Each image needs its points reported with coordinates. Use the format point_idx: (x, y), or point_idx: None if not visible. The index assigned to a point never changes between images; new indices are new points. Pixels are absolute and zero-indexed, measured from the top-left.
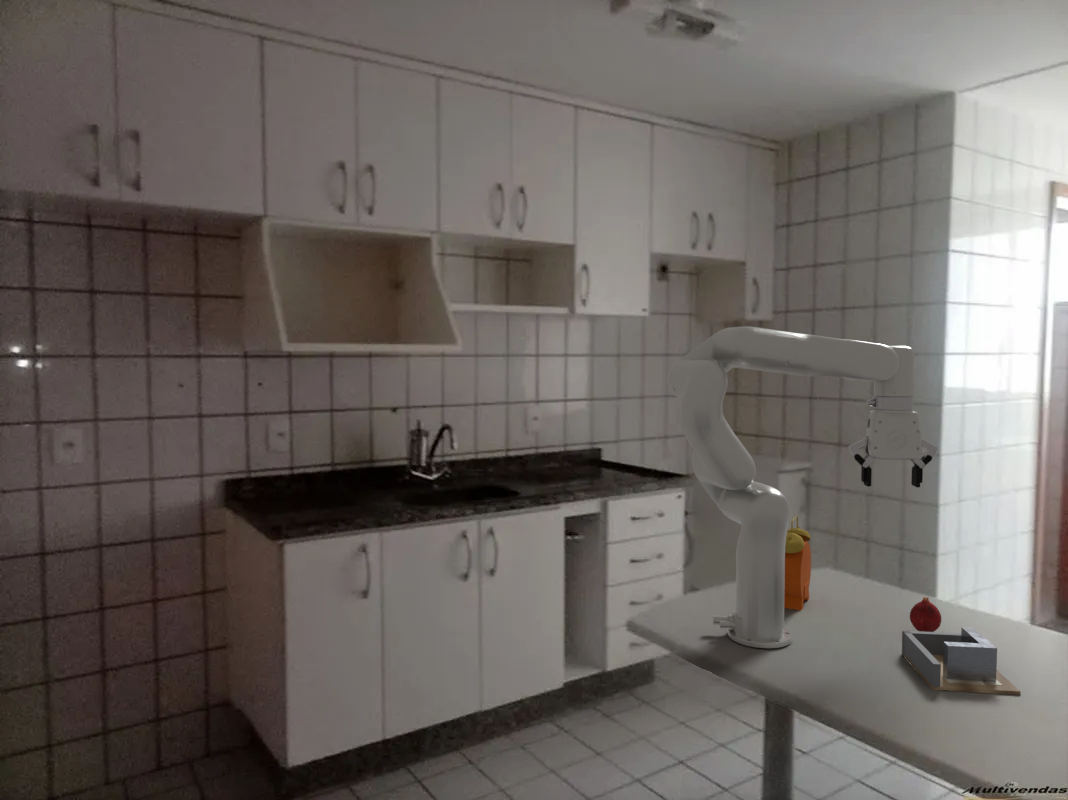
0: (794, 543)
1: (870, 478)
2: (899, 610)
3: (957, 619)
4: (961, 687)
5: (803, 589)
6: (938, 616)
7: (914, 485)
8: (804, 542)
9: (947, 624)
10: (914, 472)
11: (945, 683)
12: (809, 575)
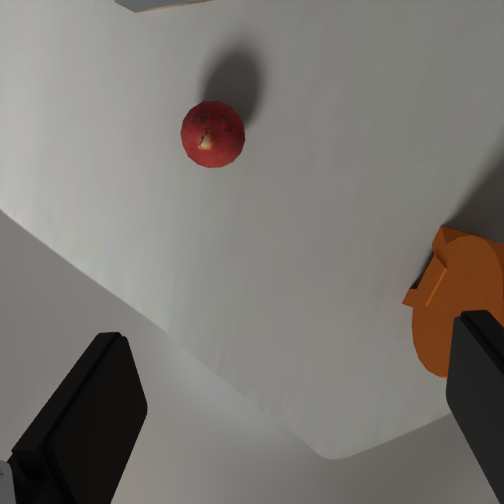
0: None
1: (496, 349)
2: (241, 268)
3: (145, 240)
4: None
5: (447, 261)
6: (187, 115)
7: (133, 365)
8: None
9: (166, 207)
10: (92, 454)
11: None
12: (419, 329)
